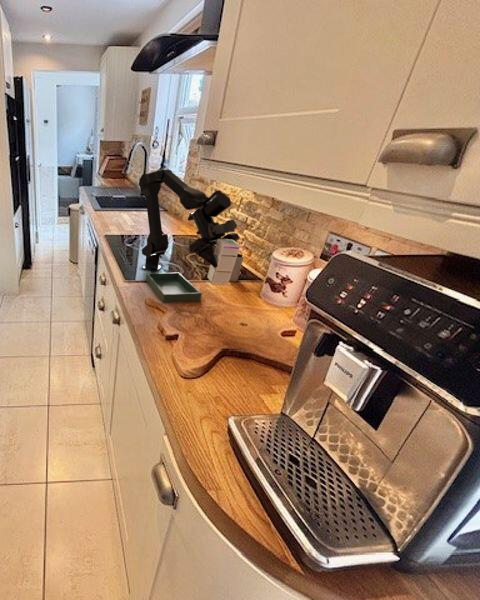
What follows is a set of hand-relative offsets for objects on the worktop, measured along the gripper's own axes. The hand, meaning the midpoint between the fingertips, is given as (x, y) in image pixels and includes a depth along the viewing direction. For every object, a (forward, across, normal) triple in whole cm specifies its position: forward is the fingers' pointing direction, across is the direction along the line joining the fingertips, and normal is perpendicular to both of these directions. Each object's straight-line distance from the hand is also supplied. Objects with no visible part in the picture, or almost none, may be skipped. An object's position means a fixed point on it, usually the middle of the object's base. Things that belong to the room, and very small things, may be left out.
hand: (224, 265), depth 108 cm
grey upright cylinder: (+2, +22, +17) cm, 28 cm away
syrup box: (+4, 0, +6) cm, 7 cm away
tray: (0, -8, +19) cm, 21 cm away
